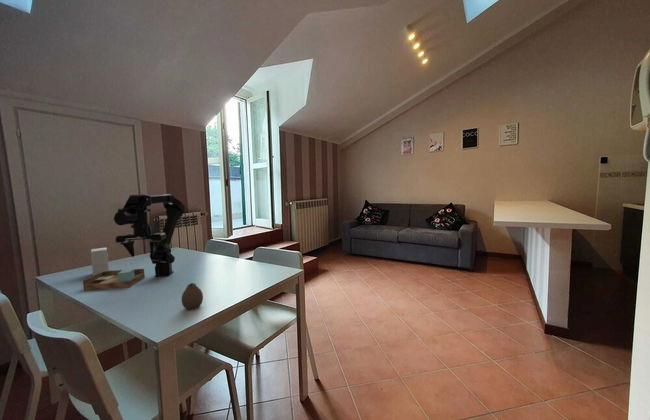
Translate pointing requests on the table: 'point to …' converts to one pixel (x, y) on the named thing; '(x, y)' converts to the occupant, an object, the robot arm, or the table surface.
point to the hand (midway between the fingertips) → (143, 256)
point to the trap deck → (111, 280)
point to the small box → (99, 260)
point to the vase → (192, 297)
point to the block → (126, 275)
